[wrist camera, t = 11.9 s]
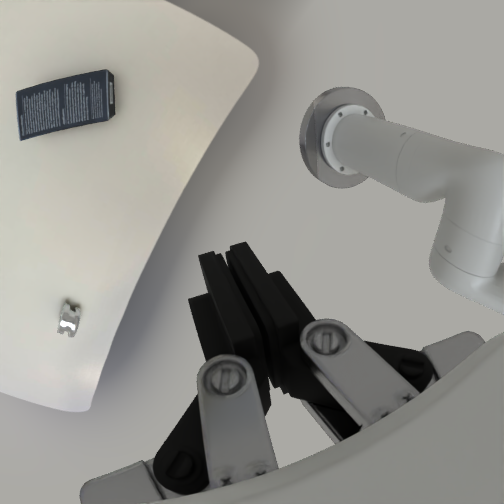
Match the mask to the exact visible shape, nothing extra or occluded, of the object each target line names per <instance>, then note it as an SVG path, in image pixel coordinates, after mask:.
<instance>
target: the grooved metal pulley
mask: <svg viewBox="0 0 504 504" xmlns="http://www.w3.org/2000/svg"><path fill="white" fill-rule="evenodd" d="M80 315H81V312H80V309H79V308H77V307H75V309H74V311H73V310H70V305H69V304H66V303H65V304H64V306H63V309H62V312H61V316H60V320H59V324H58V330H57V332H58V333H60V334H63V333H64V331H67V332H68V337H74V336H75V334H76V332H77V329H78V325H79V321H80Z"/></svg>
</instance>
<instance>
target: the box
mask: <svg viewBox="0 0 504 504" xmlns="http://www.w3.org/2000/svg"><path fill="white" fill-rule="evenodd" d="M16 108H17V121H18V131H19V139H20V141H22V140H26V139H29V138H33V137H36V136H40V135H43V134H47V133H51V132H55V131H59V130H64V129H68V128H73V127H78V126H82V125H87V124H92V123H97V122H103V121H108V120H109V119H110V118H112V117H113V116H114V115H115V95H114V75H113V74H111V73H110V72H109V71H108V70H100V71H94V72H89V73H84V74H79V75H75V76H70V77H66V78H62V79H58V80H54V81H50V82H46V83H43V84H39V85H36V86H33V87H29V88H26V89H23V90H20V91H17V92H16Z"/></svg>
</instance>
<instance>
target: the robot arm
mask: <svg viewBox="0 0 504 504" xmlns="http://www.w3.org/2000/svg"><path fill="white" fill-rule="evenodd" d="M321 149H322V153H323V156H324V159H325V160H326V162H327V164H328V165H329V166H330V167H331V168H332V169H334V170H335V171H337V172H339V173H341V174H345V175H352V174H357V173H359V172H360V173H362V174H364V175H366V176H368V177H370V178H372V179H374V180H376V181H378V182H380V183H382V184H384V185H386V186H388V187H390V188H392V189H393V190H395V191H397V192H399V193H401V194H403V195H405V196H407V197H408V198H411V199H412V200H415V201H418V202H423V203H428V202H434V201H437V200H440V199H443V198H445V205H444V209H443V214H442V217H441V221H440V224H439V227H438V230H437V233H436V237H435V240H434V243H433V246H432V249H431V253H430V258H429V267H430V270H431V273H432V275H433V276H434V278H435V279H436V280H437V281H438V282H439V283H440V284H442V285H443V286H444V287H446V288H447V289H449V290H451V291H453V292H455V293H457V294H459V295H461V296H463V297H465V298H467V299H470V300H472V301H474V302H477V303H479V304H481V305H483V306H486V307H488V308H490V309H492V310H494V311H496V312H498V313H501V314H503V315H504V263H501V261H502V259H503V256H504V155H503V154H501V153H499V152H495V151H493V150H489V149H484V148H480V147H475V146H470V145H467V144H462V143H459V142H455V141H452V140H448V139H445V138H442V137H439V136H436V135H432V134H430V133H427V132H423V131H420V130H417V129H414V128H411V127H407V126H404V125H400V124H397V123H393V122H389V121H386V120H382V119H378V118H375V117H374V115H373V114H372V113H371V112H370V111H369V110H368V109H367V108H365V107H363V106H360V105H355V104H347V105H343V106H341V107H339V108H337V109H336V110H335V111H333V112H332V113H331V115H330V116H329V117H328V118H327V120H326V122H325V124H324V127H323V130H322V135H321ZM225 254H226V259H227V264H228V266H227V264H226V262H225V260H224V258H223V256H222V255H221V253H220V254H217V255H215V253H214V251H211V252H208V253H205V254H201V255H198V257H199V261H200V265H201V269H202V272H203V276H204V280H205V283H206V286H207V290H208V293H206V294H203V295H200V296H196V297H193V298H189V299H188V301H189V305H190V309H191V312H192V315H193V319H194V323H195V326H196V330H197V333H198V337H199V340H200V343H201V346H202V350H203V353H204V356H205V359H206V362H205V363H204V365H203V366H202V367H201V368H200V370H199V372H198V374H197V390H198V394H197V395H196V397H195V398H194V400H193V402H192V403H191V404H190V406H189V407H188V409H187V410H186V412H185V413H184V415H183V416H182V418H181V419H180V420H179V422H178V424H177V425H176V426H175V428H174V429H173V431H172V432H171V433H170V435H169V436H168V438H167V439H166V441H165V442H164V444H163V445H162V446H161V448H160V449H159V451H158V452H157V454H156V456H155V458H153V459H151V460H148V461H146V462H144V461H143V460H141V461H139V462H137V463H134V464H132V465H129V466H127V467H124V468H121V469H119V470H116V471H114V472H111V473H108V474H105V475H103V476H100V477H97V478H94V479H91V480H89V481H87V482H86V483H84V485H83V486H82V488H81V490H80V501H81V504H504V332H503V333H501V334H499V335H497V336H495V337H494V338H492V339H490V340H489V341H487V342H486V343H485V341H484V340H483V339H482V338H481V336H480V335H478V334H476V333H474V332H470V331H466V332H462V333H460V334H457V335H455V336H452V337H450V338H448V339H445V340H442V341H439V342H436V343H434V344H431V345H428V346H425V347H423V349H422V351H416V350H412V349H407V348H401V347H395V346H389V345H384V344H378V343H373V342H368V341H363V340H362V339H361V338H360V337H359V336H358V335H356V334H355V333H354V332H353V331H352V330H351V329H350V328H349V327H348V326H346V325H345V324H343V323H342V322H340V321H337V320H334V319H320V320H316V319H315V318H314V317H313V315H312V314H311V313H310V311H309V310H308V308H307V307H306V306H305V304H304V303H303V302H302V300H301V299H300V298H299V296H298V295H297V294H296V292H295V291H294V289H293V288H292V287H291V286H290V284H289V283H288V281H287V280H286V279H285V277H284V276H283V275H282V273H281V272H280V271H276V272H273V273H269V274H268V273H267V272H266V270H265V269H264V267H263V266H262V264H261V263H260V262H259V260H258V259H257V257H256V256H255V254H254V253H253V251H252V250H251V248H250V247H249V245H248V244H247V242H243V243H239V244H235V245H232V246H230V251H226V253H225ZM268 377H269V379H270V381H271V383H272V385H273V387H274V388H278V387H280V388H281V390H282V392H283V394H286V393H289V394H290V396H291V397H294V398H297V399H300V400H301V402H302V404H303V405H304V407H305V408H306V409H307V410H308V412H309V413H310V414H311V415H312V417H313V418H314V419H315V420H316V422H317V423H318V424H319V425H320V426H321V428H322V429H323V430H324V431H325V432H326V434H327V435H328V436H329V437H330V438H331V440H332V441H333V442H334V443H335V445H333V446H331V447H329V448H327V449H325V450H323V451H320V452H318V453H316V454H314V455H311V456H309V457H307V458H305V459H302V460H300V461H297V462H295V463H293V464H290V465H287V466H285V467H282V468H280V469H279V468H278V464H277V461H276V457H275V453H274V450H273V446H272V442H271V439H270V435H269V431H268V428H267V424H266V420H265V416H266V414H267V412H268V410H269V408H270V406H271V399H270V392H269V391H270V385H269V379H268Z"/></svg>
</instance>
